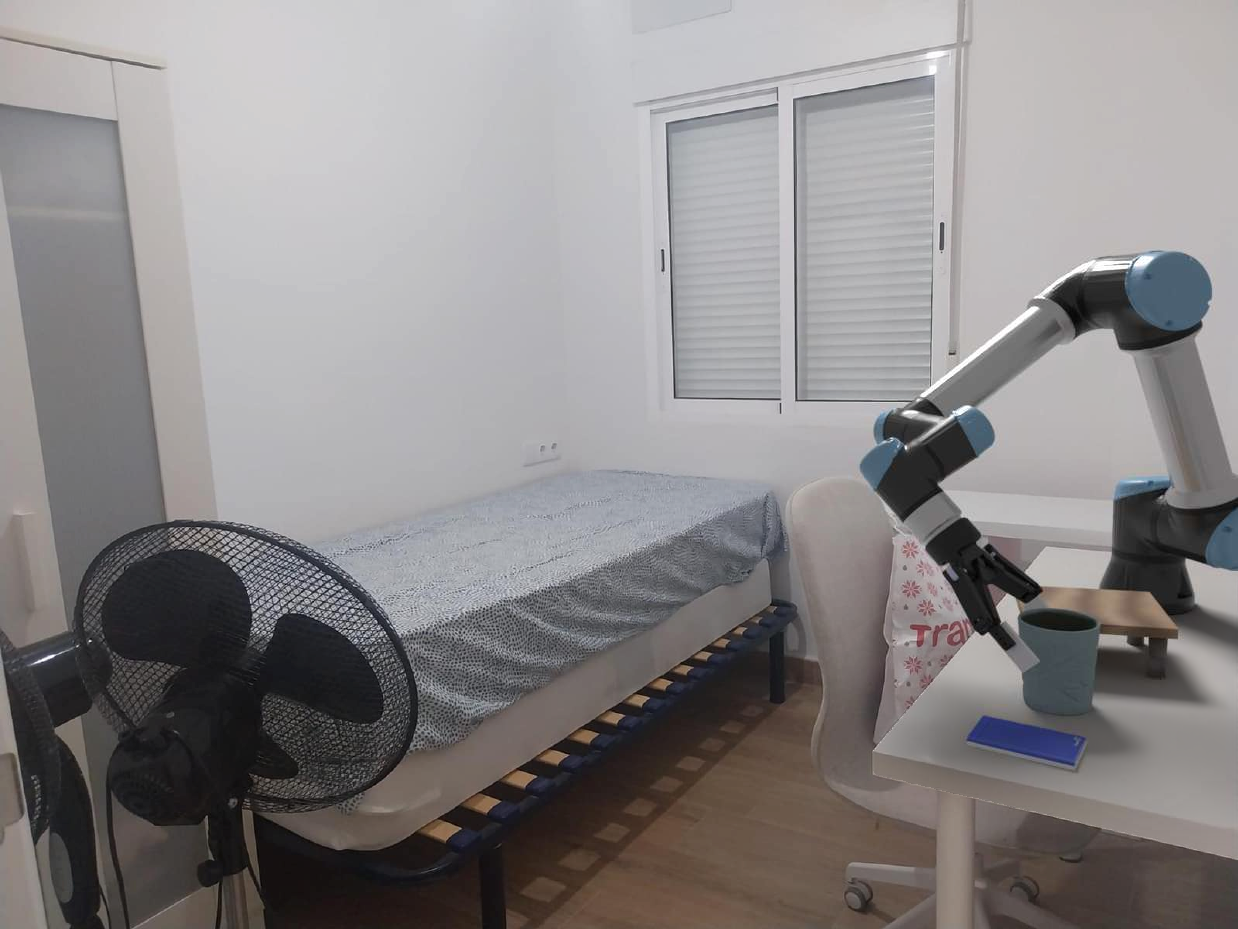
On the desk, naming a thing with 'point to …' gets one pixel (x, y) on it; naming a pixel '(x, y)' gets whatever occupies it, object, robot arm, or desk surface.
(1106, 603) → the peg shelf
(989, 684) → the desk surface
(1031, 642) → the teal plant pot
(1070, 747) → the hard drive
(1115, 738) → the desk surface
